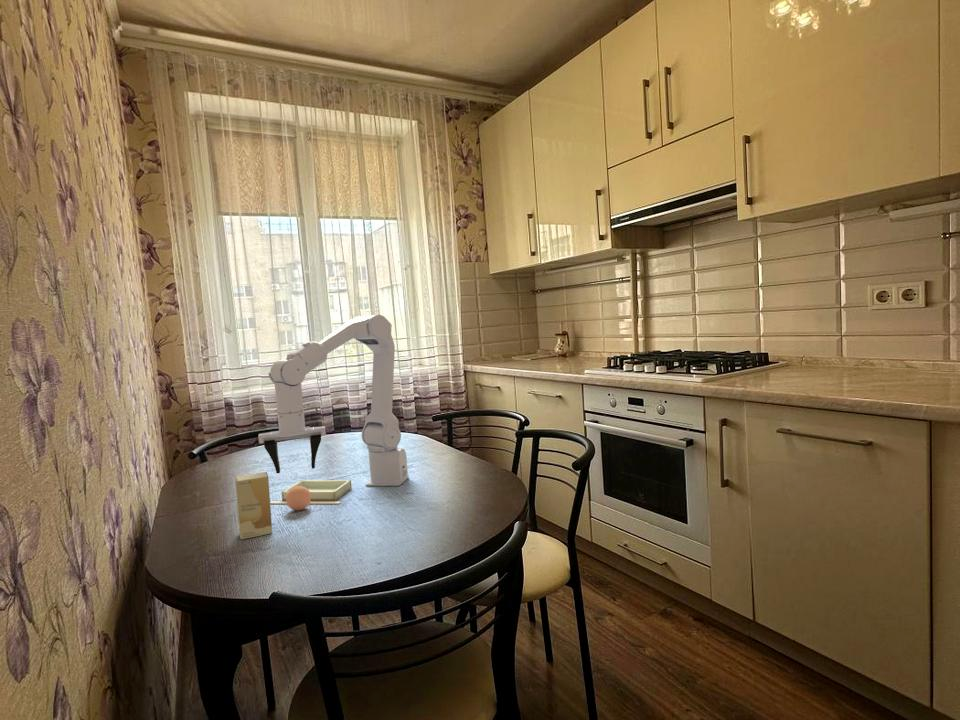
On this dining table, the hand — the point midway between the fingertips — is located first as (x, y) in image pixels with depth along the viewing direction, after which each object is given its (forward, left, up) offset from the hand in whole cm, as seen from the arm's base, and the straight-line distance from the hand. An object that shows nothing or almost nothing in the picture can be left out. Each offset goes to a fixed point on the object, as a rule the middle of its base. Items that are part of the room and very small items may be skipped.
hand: (295, 469), depth 127 cm
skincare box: (+2, +14, -10) cm, 17 cm away
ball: (0, 0, -7) cm, 7 cm away
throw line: (+1, -4, -9) cm, 10 cm away
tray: (+1, -11, -9) cm, 14 cm away
